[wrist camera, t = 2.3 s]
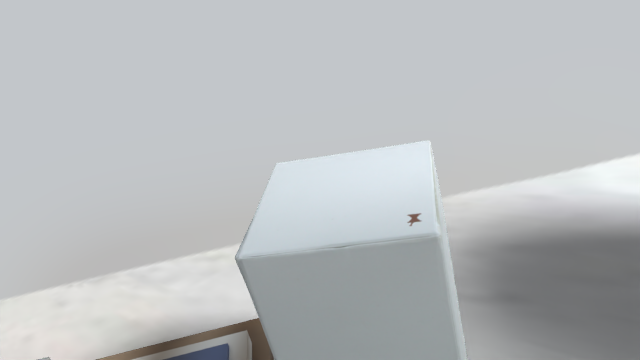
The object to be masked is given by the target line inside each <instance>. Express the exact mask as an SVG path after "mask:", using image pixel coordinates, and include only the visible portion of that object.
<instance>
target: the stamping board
mask: <svg viewBox="0 0 640 360" xmlns="http://www.w3.org/2000/svg"><path fill="white" fill-rule="evenodd" d="M96 360H274V357H273V354H272V351H271V349H270V346H269V343H268V341H267V338H266V335H265V333H264V330H263V327H262V325H261V322H260V319H259V318H257V319H253V320H249V321H246V322H242V323H238V324H234V325H230V326H226V327H222V328H218V329H214V330H210V331H206V332H202V333H198V334H195V335H191V336H187V337H183V338H179V339H175V340H171V341H167V342H163V343H159V344H155V345H151V346H147V347H143V348H140V349H136V350H132V351H128V352H124V353H120V354H116V355H112V356H108V357H104V358H100V359H96Z"/></svg>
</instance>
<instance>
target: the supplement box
mask: <svg viewBox="0 0 640 360" xmlns="http://www.w3.org/2000/svg"><path fill="white" fill-rule="evenodd" d="M235 260H236V262H237V265H238V267H239V269H240V272H241V274H242V276H243V279H244V281H245V283H246V286H247V288H248V291H249V293H250V296H251V298H252V301H253V303H254V306H255V309H256V311H257V314H258V316H259V319H260V322H261V325H262V327H263V330H264V333H265V335H266V338H267V341H268V343H269V346H270V349H271V351H272V354H273V357H274V359H275V360H468V359H467V352H466V346H465V339H464V334H463V328H462V322H461V316H460V310H459V304H458V297H457V291H456V284H455V278H454V272H453V266H452V259H451V253H450V247H449V241H448V234H447V228H446V222H445V216H444V210H443V204H442V199H441V193H440V188H439V182H438V177H437V172H436V166H435V161H434V156H433V151H432V146H431V142H430V141H428V140H426V141H419V142H413V143H407V144H402V145H395V146H389V147H382V148H377V149H370V150H363V151H356V152H350V153H343V154H336V155H329V156H323V157H316V158H310V159H302V160H295V161H288V162H279V163H276V165H275V167H274V169H273V172H272V174H271V176H270V179H269V182H268V184H267V186H266V188H265V191H264V193H263V196H262V198H261V201H260V203H259V205H258V208H257V211H256V213H255V215H254V217H253V219H252V222H251V224H250V226H249V228H248V230H247V232H246V234H245V237H244V239H243V241H242V243H241V245H240V248H239V250H238V252H237V254H236V256H235Z"/></svg>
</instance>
